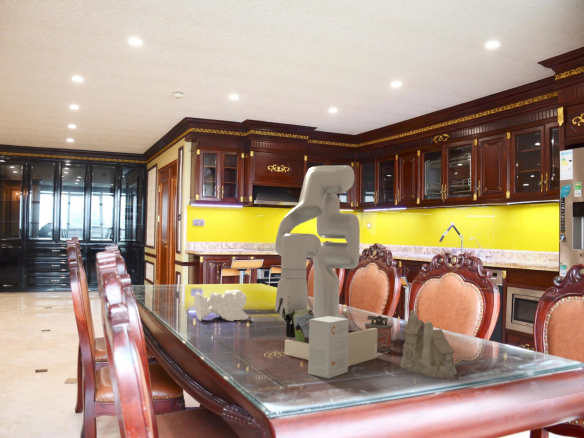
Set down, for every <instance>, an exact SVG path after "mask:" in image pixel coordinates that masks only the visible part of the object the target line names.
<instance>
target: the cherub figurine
mask: <svg viewBox="0 0 584 438" xmlns="http://www.w3.org/2000/svg"><path fill="white" fill-rule="evenodd" d="M193 298H194V299H193V301H194V303H193V308H194V310H195V314H196V317H197V319H198V321H200V322H202V321H203V319H206V317H208V316H209V315H210V314H214V315H215V316H216V317H217V316H218V317H220V316H221V317H220V318H222V319H223V320H225V321H229V322H235V321H234V320H240V321H245V320H248V319H249V315H248V314H247V313H246V312H245V311H244V310H243V309H242V308H243V307H244V306H245V305H246V303H247V295H246V294H245V293H244V292H243V291H242V290H240V289H231V290H229V289H227V290H225V291H224V292H222V293H218V292H210V293H209V295H208V297H207V296H205V295H204V294H203V293H201V292H198V291H197V292H195V294H194V296H193Z"/></svg>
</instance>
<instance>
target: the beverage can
mask: <svg viewBox="0 0 584 438" xmlns="http://www.w3.org/2000/svg"><path fill="white" fill-rule="evenodd" d="M309 319H314V313H313V310H312V308H307V309H301V310H297V311H295V313H294V315H293V320H294V329H295V338H294V339H295V341H299V342H304V343H308V344H309Z"/></svg>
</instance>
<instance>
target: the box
mask: <svg viewBox="0 0 584 438" xmlns="http://www.w3.org/2000/svg"><path fill="white" fill-rule="evenodd" d="M284 355H286V356H289V357H294V358H298V359H302V360H307V361H308V359H309V344H308V343H304V342H299V341H296V340H293V339H285V340H284ZM376 358H378V350H377V328H370V329H366V330H365V329H362V330H361V329H360V330H358V331H357V330H356V331H352V332H348V367H350V366H353V365H356V364H360V363H363V362H366V361H370V360H373V359H376Z"/></svg>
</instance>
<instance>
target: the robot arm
mask: <svg viewBox="0 0 584 438" xmlns="http://www.w3.org/2000/svg"><path fill="white" fill-rule="evenodd" d="M354 183H355V172H354V169H353V167H352V166H350V165H346V164H344V165H342V164H341V165H317V166H316V165H315V166H312V167H310V168H309V169H308V170H307V171H306V174H305V175H304V179H303V183H302V187H301V190H300V195H299V199H298V204H297V205H296V206H295V207H293V208H292V209H291V210H290V211H289V212H288V213H287V214H286V215H284V217H283V218H282V219H281V221H280V223H279V225H278V229H277V233H276V237H275V242H274V243H275V251H276V254H278V256H280V257H281V261H280V262H281V263H280V266H281V267H280V269H281V270H280V279H279V280H278V284H277V288H276V293H275V294H276V295H275V312H276V313H279V314H278V318H279V319H283V320H284V324H285V328H286V329H285V336H286V337H287V338H291V339H295V329H294V320H293V315H294V313H295V311H297V310H301V309H308V306H309V292H308V280H307V260H308V259H309V258H311V259H312V263H313V264H312V266H313V298H312V302H313V304H312V305H313V306H312V307H313V308H312V312H313V313H314V318H320V317H326V316H333V317H340V318H346V317H345V315H344V314H339V311H340V279H339V276H338V274H337V272H335V269H345V270H346V269H347V270H348V269H349V270H350V269H355V268H357V267H358V265H359V262H360V240H361V239H360V236H361V235H360V232H361V231H360V230H361V229H360V221H359V217H358V216H357V215H356V214H355V213H352V212H351V213H349V212H348V213H347V212H342V213H341V212H340V211H341V209H340V207H341V206H340V198H339V196H338V194H344V193H346V192H348V191H349V190H350V189H351V188H352V187H353V186H354ZM314 219H316V233H317V235H316V234H314V233H313V234H312V233H301V232H300V233H299V232H298V233H295V232H292V231H293V230H294V229H295V228H296V227H298V226H299V225H302V224H305V223H306V222H309V221H311V220H314ZM318 236H319V237H320V238H323V239H332V240H333V239H334V240H337V239H338V240H345V241H346V242H338V241H337V242H335V241H323V242H322V241H321V240H320V238H319V237H318ZM307 258H308V259H307Z"/></svg>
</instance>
